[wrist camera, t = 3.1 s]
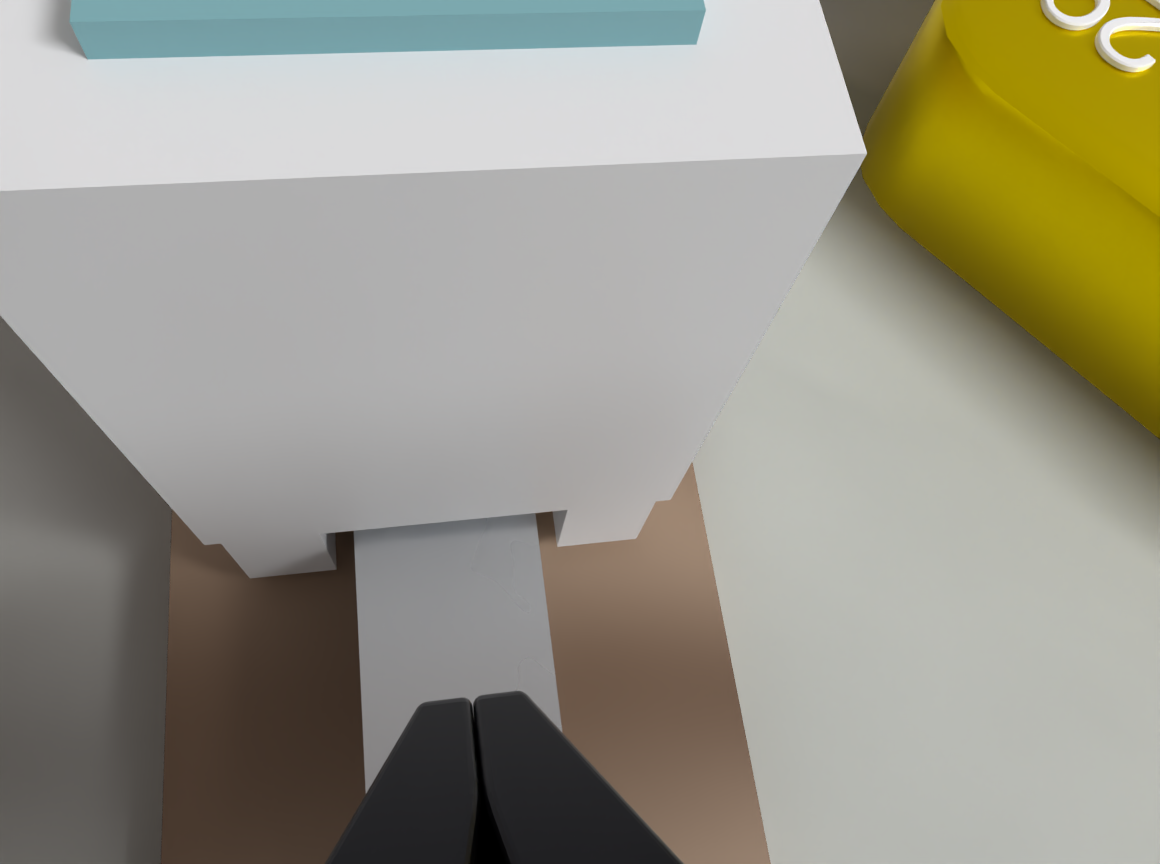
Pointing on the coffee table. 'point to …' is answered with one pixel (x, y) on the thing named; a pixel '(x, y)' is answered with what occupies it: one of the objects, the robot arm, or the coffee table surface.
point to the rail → (449, 621)
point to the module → (410, 245)
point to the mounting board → (334, 709)
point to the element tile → (1038, 173)
